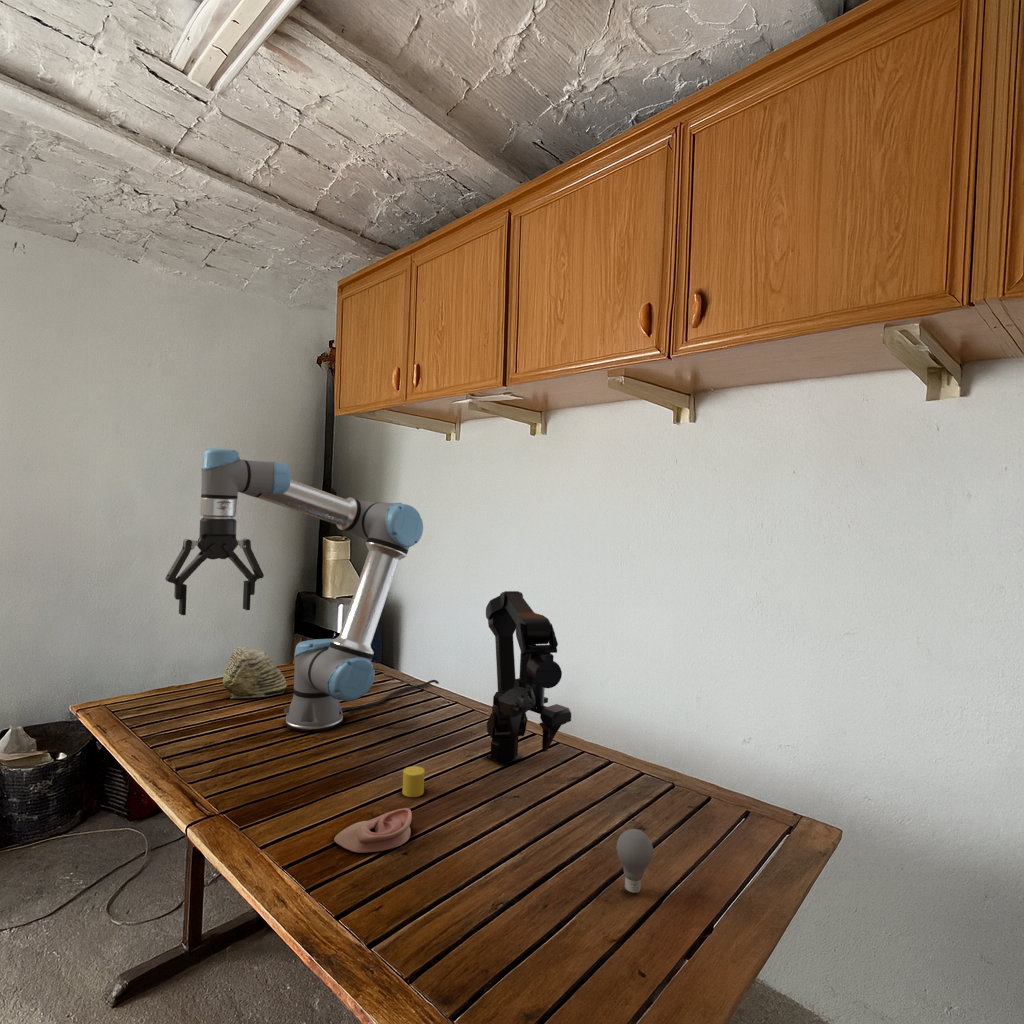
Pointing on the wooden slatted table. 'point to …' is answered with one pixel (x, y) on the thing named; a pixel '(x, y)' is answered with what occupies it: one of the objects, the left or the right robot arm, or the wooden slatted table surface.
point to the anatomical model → (377, 832)
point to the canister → (413, 781)
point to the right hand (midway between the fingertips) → (529, 744)
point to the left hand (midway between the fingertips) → (215, 611)
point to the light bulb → (634, 857)
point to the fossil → (252, 674)
